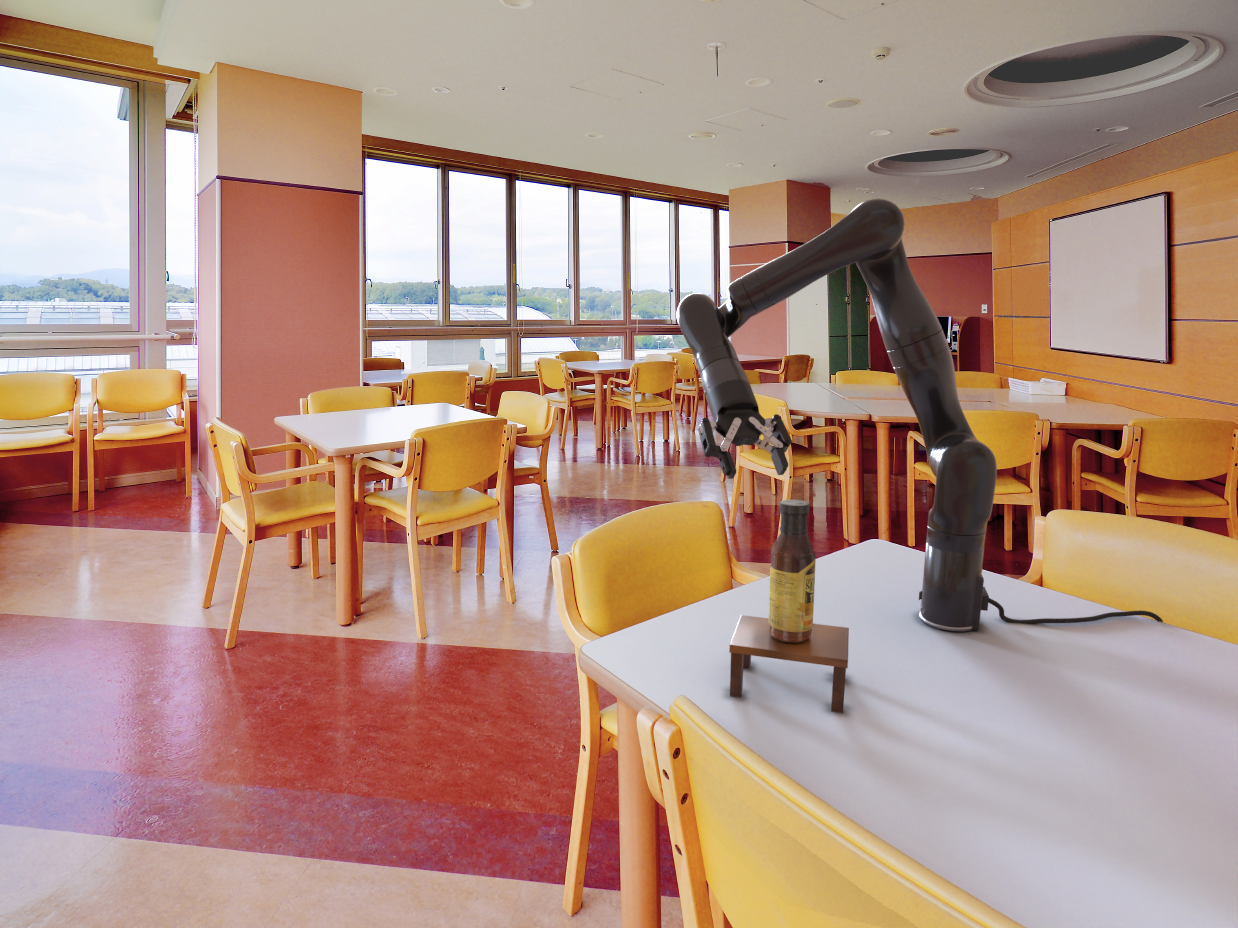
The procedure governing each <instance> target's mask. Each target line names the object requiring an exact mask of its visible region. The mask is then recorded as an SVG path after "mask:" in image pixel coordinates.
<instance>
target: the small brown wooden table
mask: <svg viewBox="0 0 1238 928" xmlns="http://www.w3.org/2000/svg"><path fill="white" fill-rule="evenodd" d="M769 626H770V624H769V617H761V616H752V615H744V614H741V615H740V617H739V619H738V622H737V625H736V628H735V629H734V633H733V635H732V637H731V640H730V643H729V648H728V649H729V650H728V651H729V652H728V653H730V670H729V671H730V672H729V673H730V674H729V697H734V698H741V697H742V696H743V689H744V688H743V687H744V685H743V684H744V669H745V670H750V669H751V665H752V656H753V657H761V658H768V659H775V660H782V661H783V660H784V661H791V662H798V663H804V664H805V663H806V664H814V665H821V666H828V667H833V670H832V671H833V673H832V689H831V690H832V692H831V704H830V705H831V706H830V712H832V713H839V714H844V708H845V707H844V706H845V691H846V690H845V689H846V677H847V676H846V675H847V669H848V667H849V640H850V639H849V636H850V628H849V627H845V626H839V625H828V624H821V623H820V624H819V623H813V627H812V632H811V636H810V638H809V639H808V640H806V641H803V642H799V643H790V642H782V641H779V640H777V639H775V638H774V637H772V636H771V635H770V633H769Z"/></svg>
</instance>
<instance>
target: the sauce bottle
mask: <svg viewBox="0 0 1238 928" xmlns="http://www.w3.org/2000/svg"><path fill="white" fill-rule="evenodd" d="M810 510H811V509H810V502H809V501H806V500H802V499H784V500H781V501H780V503H779V514H780V527H779V531H780V533H779V535H778V536H777V538H776V539H775V541H774V542H773V544H772V547H771V553H770V554H771V559H770V560H771V561H770V567H769V593H768V595H769V596H768V598H769V599H768V618H769V624H770V626H769V633H770V635H771V636H772V637H774V638H775V639H777V640H779V641H782V642H790V643H799V642H803V641H806V640H808V639H809V638H810V636H811V632H812V627H813V624H814V607H815V606H814V605H815V586H816V585H815V584H816V554H815V551H814V548H813V545H812V542H811V539H810V536H809V532H808V531H809V528H808V525H809V524H808V523H809V514H810Z"/></svg>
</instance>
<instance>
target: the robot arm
mask: <svg viewBox="0 0 1238 928" xmlns="http://www.w3.org/2000/svg"><path fill="white" fill-rule="evenodd" d="M905 225H906V223H905V217H904V214H903V212H902V210H901V209H900V207H899V206H898V205H897V204H896V203H894V202H893V201H891V200H888V199H886V198H881V197H880V198H876V197H875V198H871V199H866V200H863V201H862V202H860V203H859V204H857V205H856V206H855V207H854V208H852V210H851V211H850V212H848V214H846V215H845V216H844V217H843V218H841V219H840V220H839V221H837V222H836V223H835V224H833V225H832V226H831V227H830V228H827V230H825V231H824V232H822V233H821V234H819V235H817V236H816V237H814V238H813V239H811V240H809V241H807V242H805V243H803V244H802V245H800V246H798V247H796V248H795V249H793V250H791V251H789V252H786V253H785V254H783V255H781V256H778V257H777V258H774V259H772V260H770V261H768V262H766V263H763V265H761V266H758V267H757V268H754V269H753V270H751V271H749V272H748V273H746V274H743V275H742V276H741V277H738V278H736V280H733V281H732V282H730V284H728V286H727V288H726V293H727V300H725V302H723V303H722V305H721V306H719V307H718V306H717V304H716V303H715V302H714V300H713V299H712V298H711V297H710V296H708V295H706V294H704V293H702V292H694V293H690V294H688V295H686V296H685V297H683V298H682V300H681V301H680V302H679V304H678V307H677V310H676V320H677V323H678V326H679V329H680V331H681V333H682V336H683V337H684V339H685V341H686V343H687V345H688V348H689V349H690V350H691V353H692V355H693V358H694V362H695V366H696V369H697V370H698V374H699V378H700V380H701V385H702V390H703V394H704V398H705V399H706V402H707V405H708V408H709V411H710V413H711V416H712V420H711V421H710V419H709V418H708V417H703V418H702V419H701V421H700V423H699V426H698V428H697V432H698V435H699V439H700V443H701V447H702V451H703V455H704V457H706V458H712V457H713V458H715V459H717V460H718V462H719V466H720V468H721V472H722V474H723V475H724V476H726V477H727V479H728V480H730V479H731V480H733V479H734V478H735V477H736V475H737V468H736V464H735V462H734V459H733V457H732V453H731V451H728V450H729V448H730V446H731V445H734V446H735V447H741V446H756V447H757V448H758V449H760V450H764V451H765V452H767V453H768V454H769V455H771V456H770V458H771V461H772V464H773V466H774V469H775V471H776V474H777V475H778V476H784V474H785V473H786V471H788V470H787V469H788V468H789V461H788V459H787V457H786V455H785V453H786V452H787V451H788V449H789V447H790V446H791V445H792V443H793V440H792V438H791V436H790V434H789V432H788V430H787V427H786V426H785V423H784V421H783V419H782V417H781V416H780V414H777V413H776V414H775V413H774V415H773V416H772V417H769V418H767V417H766V418H764V416H762V415H761V413H760V410H759V409H760V408H759V404H758V401H757V399H756V396H755V394H754V391H753V389H752V386H751V383H750V381H749V378H748V376H747V373H746V371H745V370H744V368H743V366H742V364H741V362H740V359H739V357H738V354H737V352H736V349H735V347H734V345H733V343H732V342H731V341H730V339H729V338H730V337H731V336H732V335H734V333H736V332H737V331H739V329H740V328H741V327H743V326H744V325H745V324H746V323H747V322H748V321H749V320H751V318H753V317H755V316H757V315H759V314H761V313H763V312H765V311H767V310H769V309H770V308H772V307H774V306H776V305H778V304H779V303H782V302H783V301H785V300H787V299H788V298H791V297H792V296H793V295H795V294H797V293H799V292H800V291H802V290H803V289H805V288H806V287H808V286H810V285H811V284H813V283H815V282H816V281H818V280H820V279H822V278H824V277H825V276H827V275H829V274H831V273H834V272H836V271H838V270H840V269H842V268H844V267H848V266H850V265H853V264H855V265H856V267H857V269H858V270H859V272H860V275H861V276H862V279H863V281H864V282H865V284H866V287H867V290H868V292H869V295H870V299H871V301H872V305H873V310H874V314H875V318H876V321H877V325H878V328H879V332H880V335H881V338H882V341H883V344H884V347H885V350H886V353H887V355H888V356H887V357H888V358H889V361H890V363H891V366H892V369H893V371H894V373H895V375H896V377H897V380H898V382H899V384H900V386H901V388H902V390H903V393H904V395H905V398H906V399H907V401H908V403H909V405H910V407H911V408H912V411H913V413H914V414H915V415H914V416H915V417H916V420H917V422H918V426H919V429H920V433H921V436H922V440H923V443H924V448H925V451H926V456H927V460H928V464H929V467H930V468H929V469H930V470H931V472H932V474H933V475H934V477H935V488H934V497H933V504H932V507H931V508H930V509H929V511H928V516H927V527H926V537H925V538H926V539H925V550H924V551H925V552H924V561H923V575H922V588H921V590H920V591H919V593H918V601H920V608H919V609H920V610H919V619H920V621H921V622H923V623H924V624H925V625H927V626H929V627H932V628H935V629H939V630H943V631H949V632H958V633H959V632H970V631H977V632H978V631H980V623H981V612H982V611H984V612H985V611H986V612H987V611H988V610H989V604H990V605H992V606H994V607H995V608H996V609H997V610H998V616H999V618H1000V619H1001V620H1002V621H1003V622H1006V623H1010V624H1025V625H1036V624H1037V625H1038V624H1075V623H1087V622H1088V623H1089V622H1096V621H1100V620H1104V619H1108V618H1116V617H1118V618H1119V617H1121V618H1122V617H1132V616H1133V617H1134V616H1146V617H1149V618H1152V619H1154V620H1155V621H1156V622H1159V623H1164V620H1163V618H1161V617H1160V616H1159V615H1158V614H1156V613H1154V612H1152V611H1148V610H1127V611H1113V612H1112V611H1111V612H1106V613H1101V614H1097V615H1094V616H1085V617H1065V618H1064V617H1063V618H1053V617H1051V618H1048V617H1047V618H1032V619H1014V618H1010V617H1008V616H1006V615H1005V609H1004V607H1003V606H1002V605H1001V604H1000V603H999V602H997V601H996V600H994V599H993V598H990V595H989V593H988V591H987V589H986V586H984V584H985V578H984V576H983V565H984V554H985V543H986V535H987V527H988V526H987V525H988V522H989V520H990V518H991V516H992V512H993V505H994V499H995V492H996V483H997V476H998V464H997V459H996V456H995V454H994V452H993V451H992V450H991V448H990V447H989V446H988V445H986V444H985V443H984V442H982V441H980V440H979V439H977V437H976V435H975V433H974V431H973V430H972V427H971V426H970V424H969V422H968V419H967V418H966V415H965V413H964V411H963V409H962V405H961V403H960V399H959V395H958V387H957V378H956V369H955V364H954V359H953V355H952V352H951V348H950V346H949V343H948V340H947V338H946V335H945V332H944V329H943V328H942V324H941V323H940V320H939V318H938V317H937V314H936V313H935V310H934V309H933V307H932V305H931V303H930V301H929V300H928V298H927V297H926V295H925V294H924V292H923V290H922V288H921V286H920V285H919V284H918V281H917V280H916V279H915V275H914V274H913V272H912V269H911V266H910V263H909V260H908V256H907V253H906V249H905V246H904V242H903V238H902V237H903V235H904V231H905ZM714 431H715V432H716V433H718V434H719V435H720V436H721V437H723V438H724V439H723V440H722V442H721V445H718V444H716V440H715V435H714ZM761 436H763V439H761Z"/></svg>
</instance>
